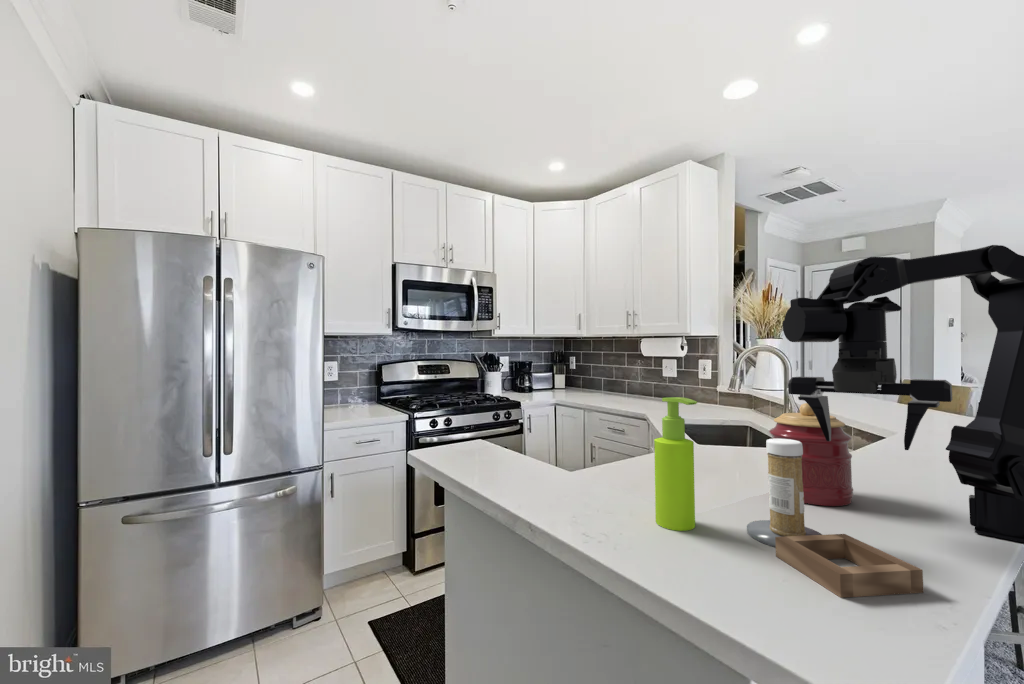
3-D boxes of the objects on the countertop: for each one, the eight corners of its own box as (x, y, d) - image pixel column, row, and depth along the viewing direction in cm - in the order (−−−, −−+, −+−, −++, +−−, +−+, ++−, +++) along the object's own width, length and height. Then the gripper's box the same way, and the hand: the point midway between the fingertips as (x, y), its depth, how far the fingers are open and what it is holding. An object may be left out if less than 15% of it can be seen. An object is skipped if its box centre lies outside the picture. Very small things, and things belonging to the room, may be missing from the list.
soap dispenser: (682, 536, 63) (679, 399, 64) (647, 520, 69) (645, 396, 70) (709, 528, 66) (706, 398, 67) (673, 514, 72) (671, 395, 73)
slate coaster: (835, 537, 63) (835, 533, 63) (817, 559, 56) (817, 554, 56) (759, 519, 70) (759, 515, 70) (736, 536, 63) (736, 532, 63)
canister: (773, 482, 91) (771, 399, 92) (851, 493, 83) (848, 402, 84) (767, 498, 80) (764, 404, 81) (856, 513, 73) (852, 408, 74)
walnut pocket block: (845, 552, 58) (844, 533, 58) (923, 592, 48) (922, 569, 48) (775, 556, 57) (775, 536, 57) (840, 597, 47) (840, 574, 47)
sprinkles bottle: (813, 537, 61) (810, 442, 62) (788, 540, 60) (785, 443, 61) (785, 525, 66) (782, 436, 66) (761, 528, 64) (758, 438, 65)
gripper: (776, 342, 67) (779, 443, 66) (945, 337, 53) (951, 464, 53) (796, 344, 75) (799, 435, 74) (950, 340, 61) (955, 451, 60)
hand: (865, 445), depth 65 cm, fingers open, 9 cm apart
